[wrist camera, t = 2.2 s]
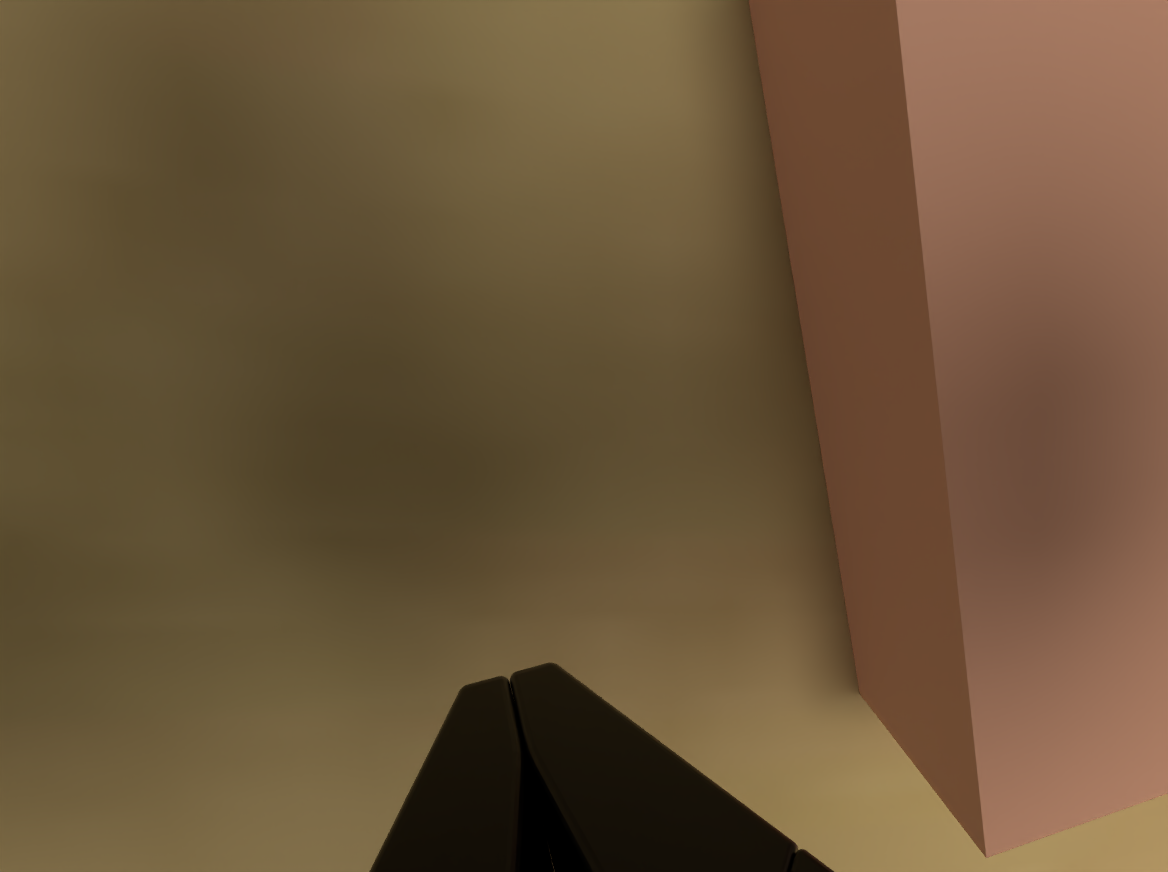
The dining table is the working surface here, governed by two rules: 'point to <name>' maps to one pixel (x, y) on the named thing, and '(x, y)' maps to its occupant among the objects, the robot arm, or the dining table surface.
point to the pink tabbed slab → (990, 380)
